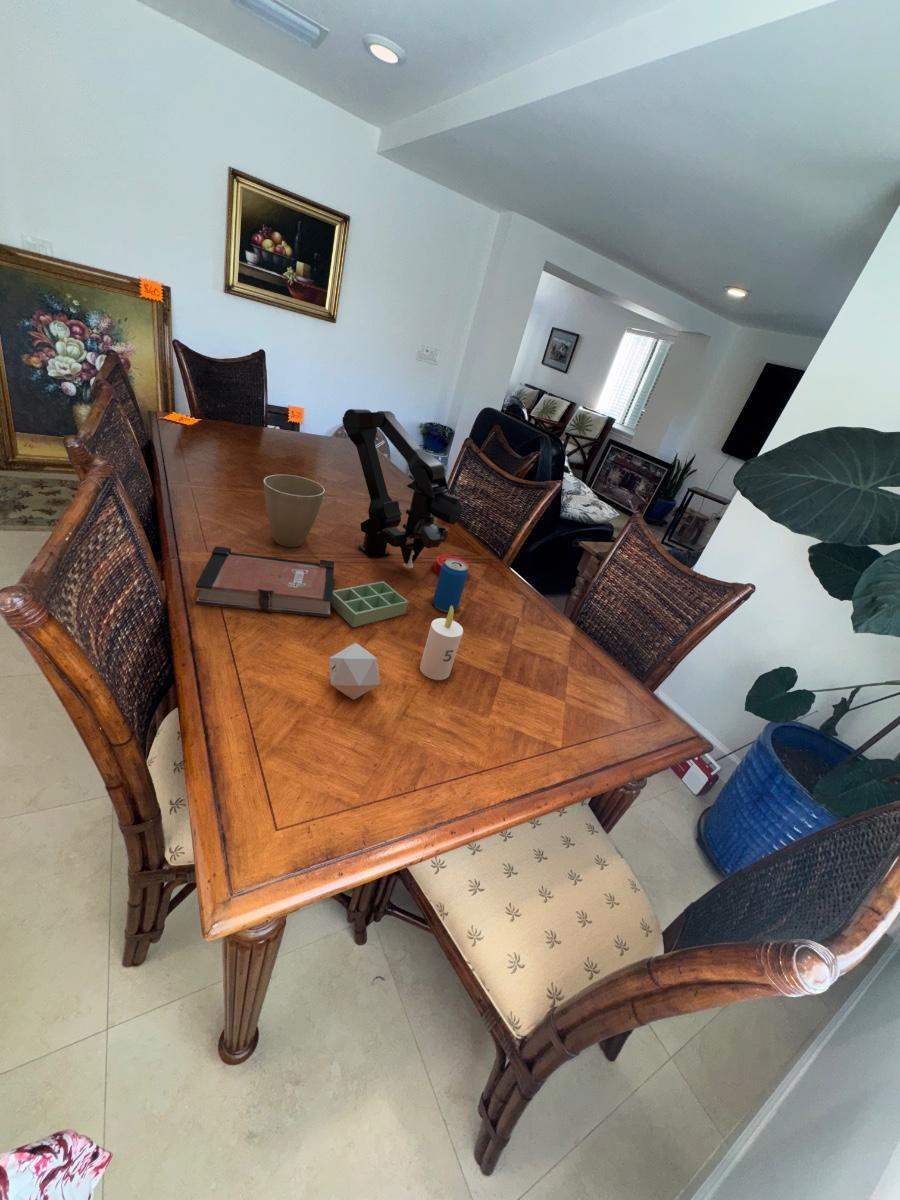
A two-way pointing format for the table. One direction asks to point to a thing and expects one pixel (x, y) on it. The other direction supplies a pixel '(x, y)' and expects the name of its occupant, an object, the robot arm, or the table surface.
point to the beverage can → (450, 585)
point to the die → (354, 671)
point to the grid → (368, 603)
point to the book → (266, 583)
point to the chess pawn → (410, 562)
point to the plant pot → (291, 507)
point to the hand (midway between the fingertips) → (408, 562)
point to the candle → (441, 647)
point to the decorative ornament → (441, 561)
